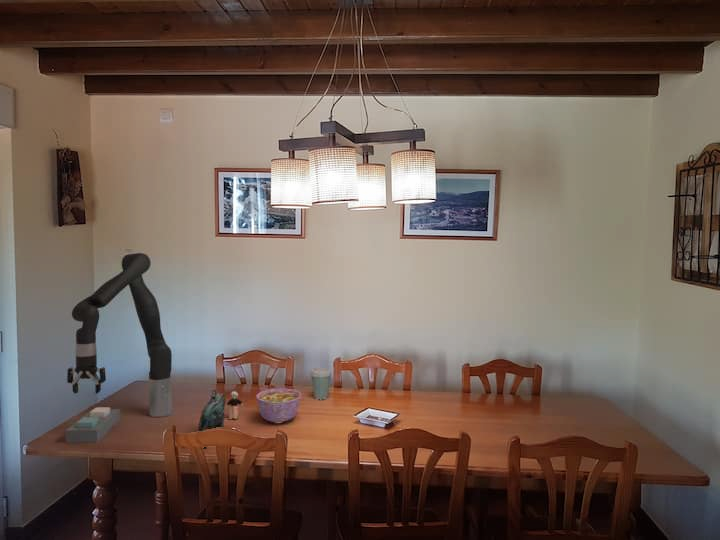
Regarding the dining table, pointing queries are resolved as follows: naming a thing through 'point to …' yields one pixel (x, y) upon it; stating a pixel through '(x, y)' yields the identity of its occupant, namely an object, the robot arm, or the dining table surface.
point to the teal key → (88, 422)
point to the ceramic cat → (213, 412)
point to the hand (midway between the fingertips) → (86, 392)
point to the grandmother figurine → (234, 405)
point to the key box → (92, 429)
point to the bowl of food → (278, 404)
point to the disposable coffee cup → (320, 382)
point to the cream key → (100, 412)
